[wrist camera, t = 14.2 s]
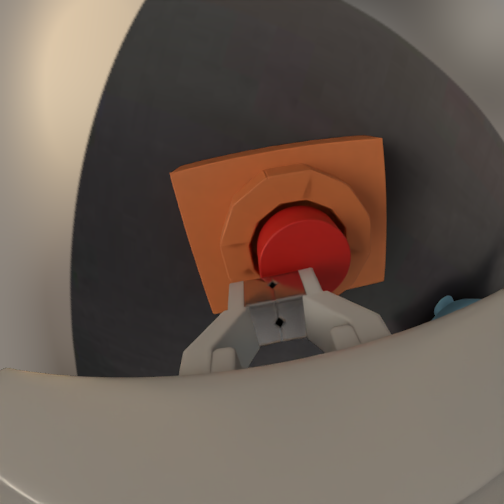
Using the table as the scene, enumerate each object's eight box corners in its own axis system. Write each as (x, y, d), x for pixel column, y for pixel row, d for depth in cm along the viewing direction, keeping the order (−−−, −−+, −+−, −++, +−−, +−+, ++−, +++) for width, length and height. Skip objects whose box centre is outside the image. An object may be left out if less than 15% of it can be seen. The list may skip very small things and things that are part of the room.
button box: (216, 292, 17) (210, 336, 13) (180, 166, 13) (157, 181, 10) (370, 263, 16) (397, 299, 13) (364, 135, 13) (402, 141, 9)
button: (264, 287, 13) (267, 310, 11) (249, 213, 11) (250, 229, 9) (339, 272, 12) (351, 294, 11) (335, 198, 11) (349, 212, 9)
